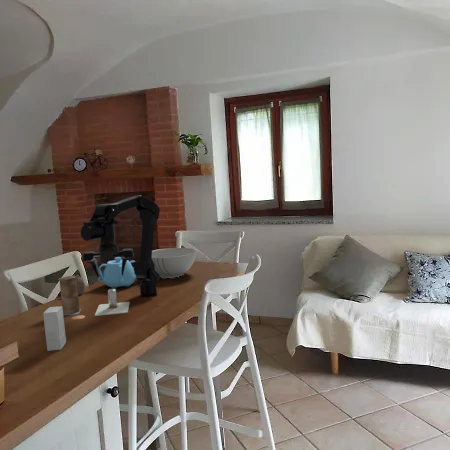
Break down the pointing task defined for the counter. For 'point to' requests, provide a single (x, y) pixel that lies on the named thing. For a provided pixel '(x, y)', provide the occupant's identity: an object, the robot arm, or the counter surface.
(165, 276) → the decorative bowl
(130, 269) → the decorative pot
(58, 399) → the counter surface
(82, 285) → the vase
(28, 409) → the counter surface
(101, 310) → the board
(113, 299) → the pin
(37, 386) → the counter surface
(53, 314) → the skincare box
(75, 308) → the tan tall block
